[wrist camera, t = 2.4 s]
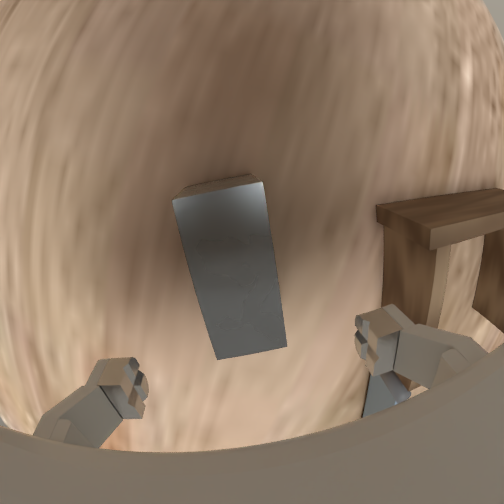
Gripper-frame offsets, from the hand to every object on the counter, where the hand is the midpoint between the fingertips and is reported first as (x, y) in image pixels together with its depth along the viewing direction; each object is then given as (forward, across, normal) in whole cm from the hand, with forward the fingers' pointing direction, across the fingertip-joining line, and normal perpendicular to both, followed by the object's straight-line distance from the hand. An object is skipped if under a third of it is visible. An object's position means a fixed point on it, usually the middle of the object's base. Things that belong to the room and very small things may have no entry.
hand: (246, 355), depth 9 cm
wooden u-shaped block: (+9, -18, +5) cm, 21 cm away
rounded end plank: (+10, -11, +19) cm, 24 cm away
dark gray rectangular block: (+10, 0, -1) cm, 10 cm away
